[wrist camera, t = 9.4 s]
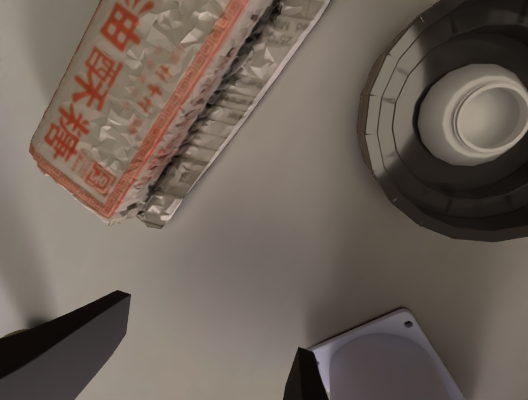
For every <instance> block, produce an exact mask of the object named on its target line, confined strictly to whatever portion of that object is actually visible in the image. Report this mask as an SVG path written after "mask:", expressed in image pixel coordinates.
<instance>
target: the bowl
mask: <svg viewBox="0 0 528 400" xmlns="http://www.w3.org/2000/svg"><path fill="white" fill-rule="evenodd" d="M470 64H496V65H498V66H501V67H503V68H505V69H507V70H509V71H511V72H513V73H515V74H516V76H517V77H518V78H519V80H520V81H521V82H522V84H523V85H524V86H525V87H526V89H527V91H528V0H440V1H439V2H437V3H436V4H434V5H433V6H431V7H430V8H429V9H427V10H426V11H424V12H423V13H421V14H420V15H419V16H418V17H416V18H415V19H414V20H413V21H412V22H411V23H410V24H409V25H408V26H407V27H406V28H404V29H403V30H402V31H401V32H400V33H399V34H398V35H397V36H396V37H395V39H394V40H393V41H392V42H391V44H390V45H389V46H388V47H387V48H386V50H385V51H384V52H383V53H382V54H381V56H380V57H379V58H378V59H377V60H376V62H375V64H374V65H373V68H372V70H371V72H370V75H369V77H368V79H367V81H366V84H365V86H364V88H363V91H362V93H361V97H360V103H359V112H358V121H357V133H358V138H359V143H360V147H361V152H362V156H363V159H364V162H365V163H366V165H367V167H368V168H369V170H370V172H371V173H372V175H373V177H374V178H375V180H376V182H377V183H378V185H379V186H380V188H381V189H382V190H383V192H384V193H385V195H386V196H387V198H388V199H389V201H390V202H391V203H392V204H393V205H395V206H396V207H397V208H398V209H399V210H401V211H402V212H403V213H404V214H406V215H407V216H408V217H409V218H410V219H412V220H413V221H414V222H415V223H417V224H419V226H422V227H425V228H427V229H430V230H432V231H435V232H437V233H440V234H442V235H445V236H447V237H450V238H453V239H462V240H473V241H484V242H499V241H505V240H511V239H516V238H522V237H528V130H527V131H526V133H525V134H524V136H523V137H522V138H521V139H520V140H519V141H518V142H517V143H516V144H515V145H514V146H513V147H512V148H510V149H509V150H507V151H506V152H505V153H503V154H502V155H500V156H499V157H497V158H496V159H495V160H493V161H489V162H486V163H482V164H479V165H475V166H461V165H452V164H450V163H447V162H445V161H443V160H441V159H439V158H437V157H435V156H433V155H432V153H431V152H430V151H429V150H428V149H427V147H426V146H425V145H424V144H423V143H422V140H421V136H420V132H419V128H418V118H419V112H420V106H421V103H422V102H423V100H424V98H425V97H426V95H427V93H428V92H429V90H430V88H431V87H432V86H433V85H434V84H435V83H436V82H438V81H439V80H440V79H441V78H442V77H444V76H445V75H446V74H447V73H448V72H451V71H453V70H456V69H459V68H462V67H464V66H467V65H470Z"/></svg>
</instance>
